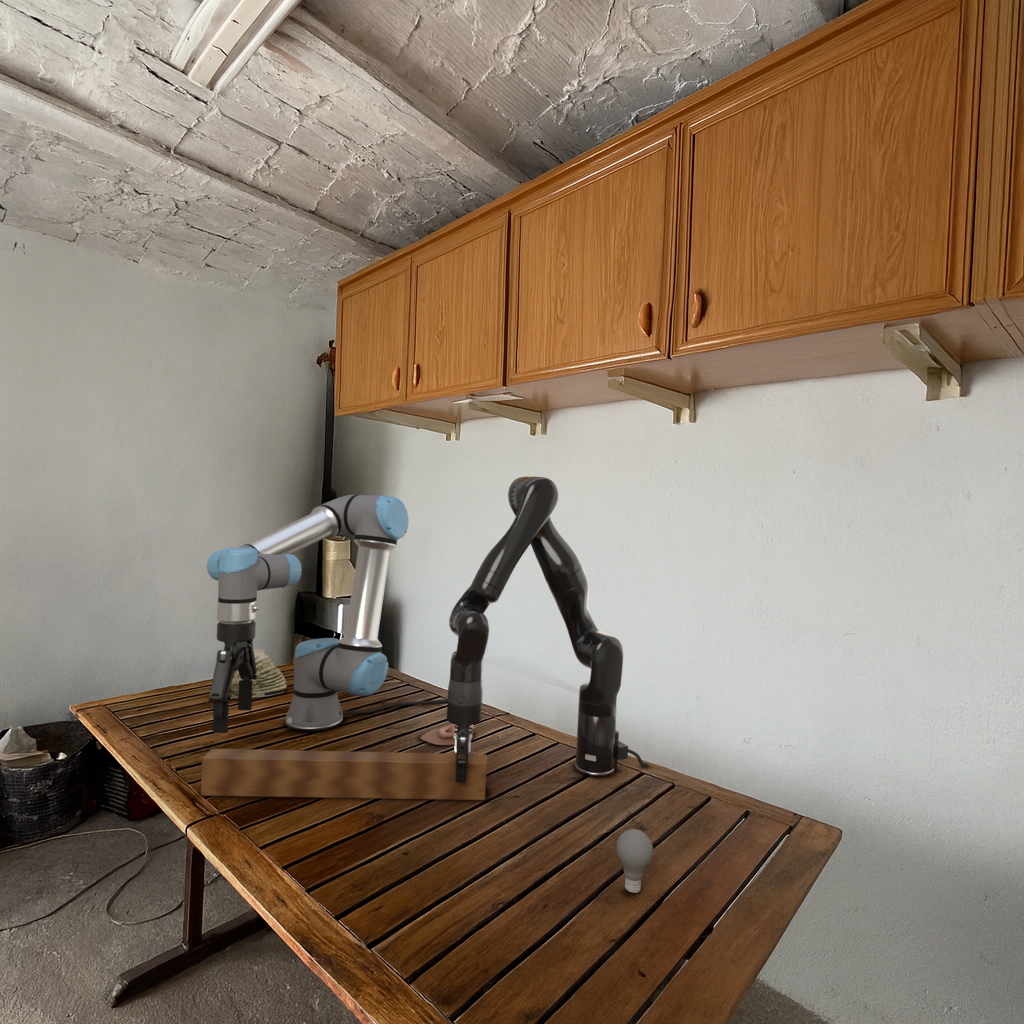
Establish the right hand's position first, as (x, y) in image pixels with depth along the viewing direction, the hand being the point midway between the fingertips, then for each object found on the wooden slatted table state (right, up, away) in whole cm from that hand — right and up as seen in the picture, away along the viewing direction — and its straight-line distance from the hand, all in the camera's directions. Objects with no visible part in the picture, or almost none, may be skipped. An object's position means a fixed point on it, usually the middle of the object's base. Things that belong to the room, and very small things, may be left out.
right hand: (461, 773), depth 137 cm
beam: (-25, -4, -1) cm, 25 cm away
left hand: (-48, +12, -3) cm, 50 cm away
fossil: (-70, -1, +61) cm, 92 cm away
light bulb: (+31, -7, -32) cm, 45 cm away
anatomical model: (-6, -4, +32) cm, 33 cm away
